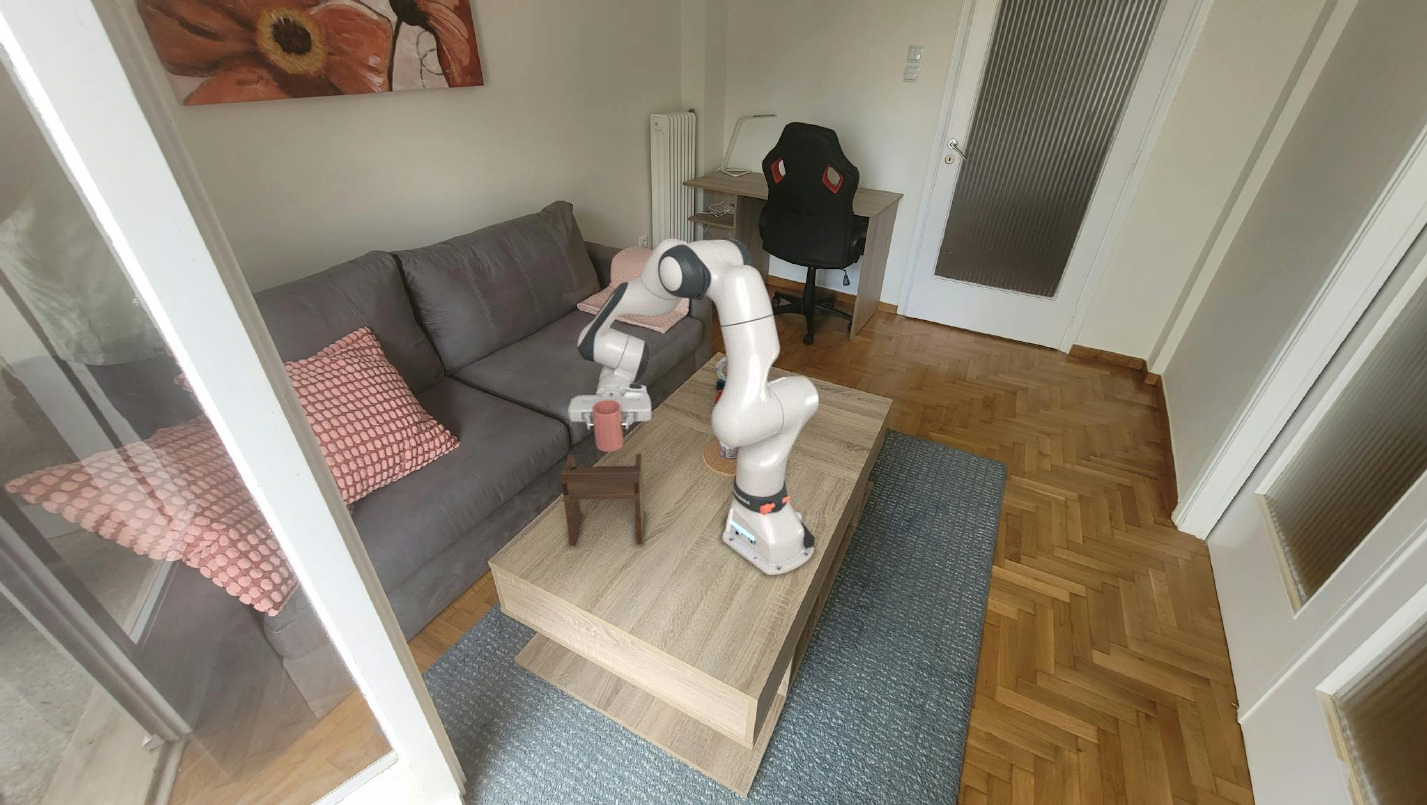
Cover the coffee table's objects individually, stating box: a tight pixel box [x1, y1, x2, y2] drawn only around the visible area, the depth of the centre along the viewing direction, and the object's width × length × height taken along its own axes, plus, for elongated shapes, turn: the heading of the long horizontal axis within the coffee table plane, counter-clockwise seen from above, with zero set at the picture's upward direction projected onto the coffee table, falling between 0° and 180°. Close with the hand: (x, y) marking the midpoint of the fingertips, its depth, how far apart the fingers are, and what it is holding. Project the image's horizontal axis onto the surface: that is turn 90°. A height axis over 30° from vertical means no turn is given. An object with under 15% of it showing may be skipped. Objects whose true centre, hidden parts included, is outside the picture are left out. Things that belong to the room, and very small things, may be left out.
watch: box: [714, 356, 727, 391], centre depth 194 cm, size 6×8×11 cm
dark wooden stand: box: [559, 453, 645, 547], centre depth 133 cm, size 10×16×21 cm, turn 93°
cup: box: [592, 400, 624, 453], centre depth 139 cm, size 7×7×10 cm
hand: (607, 427), depth 138 cm, fingers closed on cup, 7 cm apart
